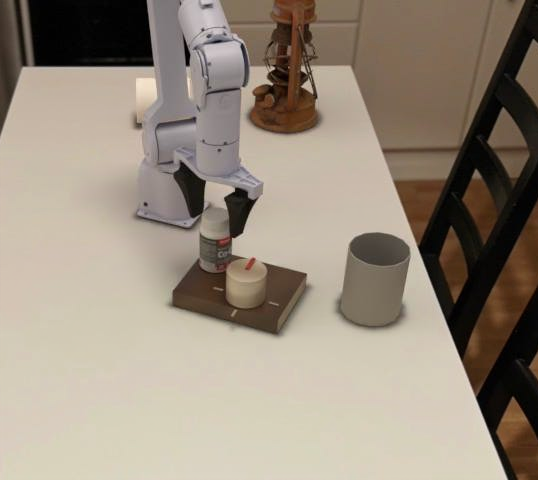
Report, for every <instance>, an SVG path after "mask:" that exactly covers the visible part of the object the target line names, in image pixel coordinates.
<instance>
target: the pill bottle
mask: <svg viewBox="0 0 538 480" xmlns="http://www.w3.org/2000/svg"><path fill="white" fill-rule="evenodd" d="M198 233H199V234H198V235H199V236H198V237H199V242H198V243H199V244H198V245H199V246H198V247H199V248H198V249H199V250H198V251H199V252H198V254H199V255H198V258H199V264H200V266H201V268H202V269H204V270H206V271H208V272H212V273H220V272H223V271H226V270H227V267H228V265H229V264H230V263H231V262H232V255H233V238H232V237H230V233H229V214H228V209H227V208H226V209H225V208H224V207H220V206H219V207H217V206H216V207H215V206H214V207H209V208H206V209H205V211H204V212H203V213H202V214H201V224H200V226H199V232H198Z"/></svg>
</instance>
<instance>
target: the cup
mask: <svg viewBox="0 0 538 480" xmlns="http://www.w3.org/2000/svg"><path fill="white" fill-rule="evenodd" d="M347 246H348V248H347V253H346V262H345V269H344V276H343V282H342V291H341V297H340V311H341V313H342V314H343V315H344V316H345V318H346V319H347V320H350V321H352V323H353V322H354V323H355V324H357V325H361V326H366V327H382V326H383V327H384V326H386V325H388V324H391V323H393V322H395V321H396V319H397V318H398V317H399V315H400V313H401V307H402V303H403V299H404V293H405V287H406V283H407V278H408V273H409V266H410V262H411V257H412V252H411V246H410V245H409V244H408V243H407V242H406V241H405V240H404V239H402V238H401V237H398V236H396V235H394V234H392V233H386V232H382V231H374V232H373V231H372V232H364V233H361V234H357V235H355V236H354V237H353V238H352V239H351V240H350V242H349V243H348V245H347Z"/></svg>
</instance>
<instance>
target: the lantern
mask: <svg viewBox="0 0 538 480" xmlns="http://www.w3.org/2000/svg"><path fill="white" fill-rule="evenodd" d="M272 5H273V7H272V10H271V12H270V13H269V17H270V19H271V20H273V21H274V22H276V28H274V29H273V30H272V32H271V36H270V39H271V41H269V43H268V45H267V46H266V48H265V50H264V52H263V58H262V62H264V65H265V68H266V70H267V74H266V79H267V81H269V82H270V83H271V84H272V85H271V84H268V83H264V84H261V85H258V86H256V87H255V88H254V89H252V91H251V94H252V96H254V107H252V109H251V111H250V113H249V120H250V121H251V122H252V123H253V124H254V125H255V126H257V127H259V129H262V130H266V131H270V132H273V133H285V134H286V133H287V134H290V133H299V132H303V131H307V130H308V129H310V128H313V127H314V126H315V125H316V124H317V123H318V121H319V115H318V112H317V109H316V101H317V100H318V96H319V95H318V91H317V87H316V83H315V79H314V75H313V72H314V69H312V68H311V67H312V66H311V63H310V61H312V60H314V64H315V65H317V64H316V62H317V61H316V60H317V59H318V58H319V56H318V55H316V54H317V52H316V48H315V46H314V44H313V43H312V40H313V39H314V38H313V33H312V31H311V30H310V24H312V23H314V22H316V21H317V19H318V15H317V14H316V0H273V4H272ZM273 44H274V47H275V46H276V45H277V49H276V55H273V56H269V55H268V52H269V49H270V48H271V47H272V46H273ZM306 44H307V46H308V47H309V48H310V47H311V49H312V50H311V51H312V54H308V52H307V47H306ZM289 47H290V55H289V54H288V49H289ZM271 51H272V49H270V52H271ZM269 60H275V64H270V62H269ZM302 61H303V62H302ZM303 65H304V69H305V71H303V70H302V66H303ZM271 66H272V67H273V68H274V69H273V70H271V68H272V67H271ZM308 81H309V82H310V85H311V89H312V92H311V91H309V90H307V88H304V87H303V86H304V84H305V83H307V82H308Z"/></svg>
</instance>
